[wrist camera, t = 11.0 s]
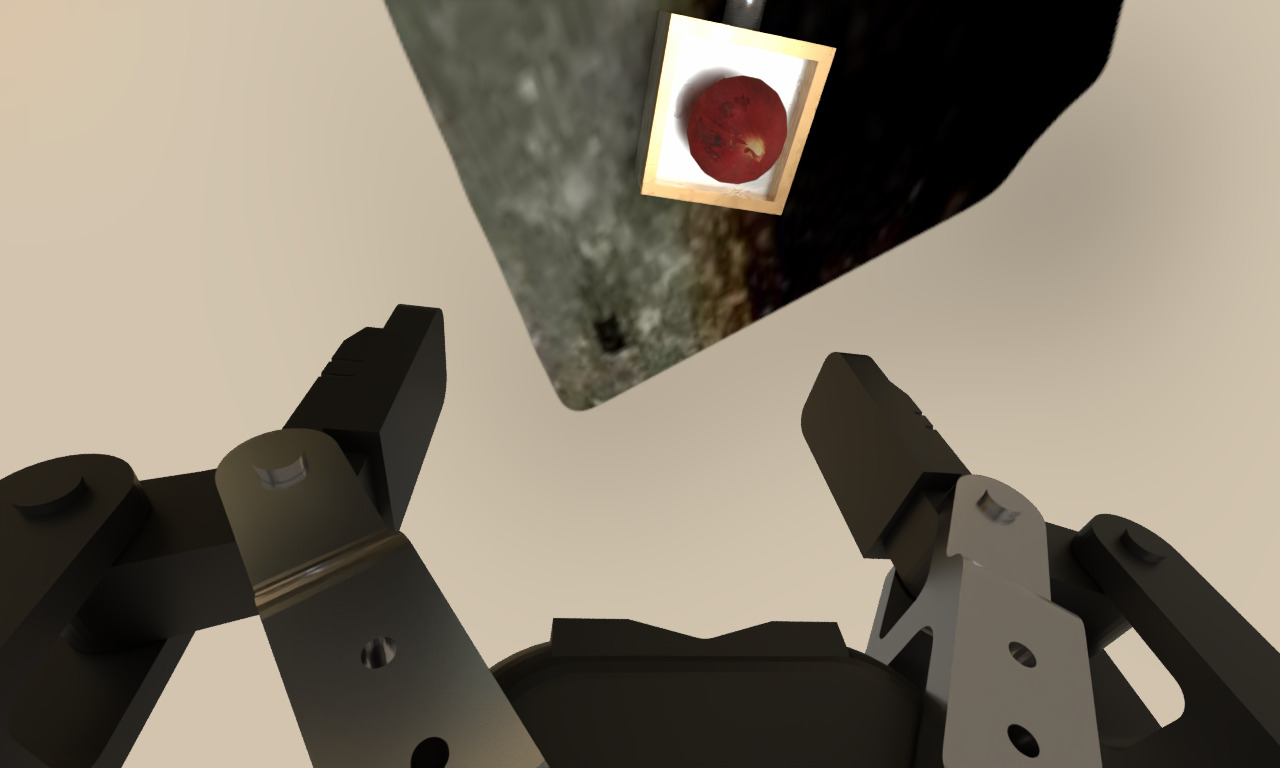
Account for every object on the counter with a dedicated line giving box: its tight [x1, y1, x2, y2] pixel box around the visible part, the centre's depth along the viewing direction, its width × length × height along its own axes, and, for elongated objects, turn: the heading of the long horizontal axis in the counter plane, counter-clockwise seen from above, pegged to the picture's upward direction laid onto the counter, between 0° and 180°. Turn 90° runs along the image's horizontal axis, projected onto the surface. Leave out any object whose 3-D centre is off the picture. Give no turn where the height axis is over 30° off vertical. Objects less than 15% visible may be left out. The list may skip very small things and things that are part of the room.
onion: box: [687, 75, 787, 184], centre depth 31 cm, size 6×6×8 cm
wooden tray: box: [634, 0, 836, 215], centre depth 35 cm, size 13×10×6 cm
